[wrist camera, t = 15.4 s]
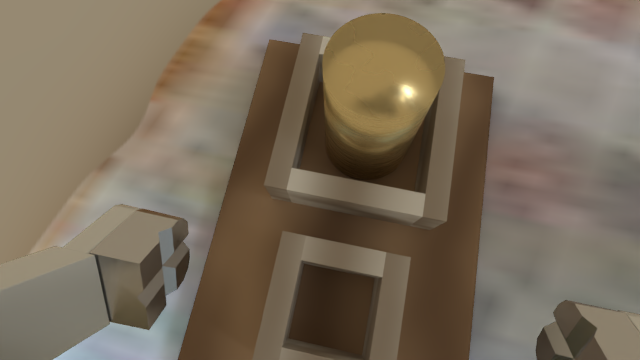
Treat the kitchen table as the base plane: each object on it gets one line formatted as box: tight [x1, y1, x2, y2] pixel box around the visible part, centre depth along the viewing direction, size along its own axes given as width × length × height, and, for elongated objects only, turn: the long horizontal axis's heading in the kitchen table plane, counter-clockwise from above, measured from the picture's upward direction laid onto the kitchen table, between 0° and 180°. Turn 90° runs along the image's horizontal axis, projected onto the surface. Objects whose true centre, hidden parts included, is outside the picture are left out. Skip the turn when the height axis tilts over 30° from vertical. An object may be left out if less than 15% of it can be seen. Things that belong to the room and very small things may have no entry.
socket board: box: [178, 33, 494, 360], centre depth 21 cm, size 15×22×4 cm
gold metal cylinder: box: [322, 13, 445, 180], centre depth 19 cm, size 5×5×8 cm
